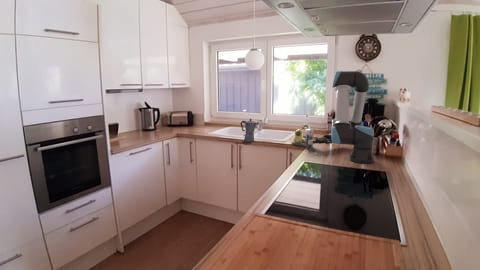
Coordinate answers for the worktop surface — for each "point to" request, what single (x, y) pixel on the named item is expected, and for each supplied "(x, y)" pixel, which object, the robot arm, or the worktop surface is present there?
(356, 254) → the worktop surface
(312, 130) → the grey white box
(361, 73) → the robot arm
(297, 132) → the pale yellow rounded lump
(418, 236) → the worktop surface
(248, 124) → the moka pot
